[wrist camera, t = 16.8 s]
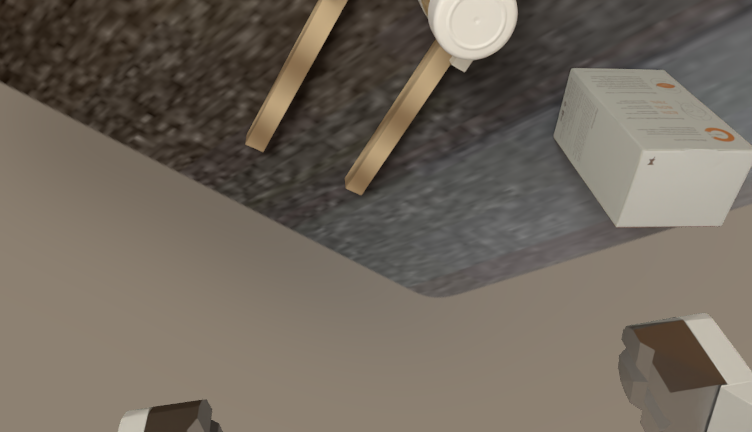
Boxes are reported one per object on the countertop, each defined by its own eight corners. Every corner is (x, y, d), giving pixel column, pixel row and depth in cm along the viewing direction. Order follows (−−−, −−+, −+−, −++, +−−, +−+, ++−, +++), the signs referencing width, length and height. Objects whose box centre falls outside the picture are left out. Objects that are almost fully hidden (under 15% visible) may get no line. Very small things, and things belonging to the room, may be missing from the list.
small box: (551, 137, 53) (613, 229, 42) (569, 66, 49) (642, 148, 39) (641, 137, 54) (723, 229, 43) (666, 68, 50) (762, 149, 40)
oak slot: (359, 184, 54) (361, 195, 52) (246, 134, 50) (245, 144, 48) (452, 47, 47) (456, 55, 46) (330, -23, 43) (331, -17, 42)
